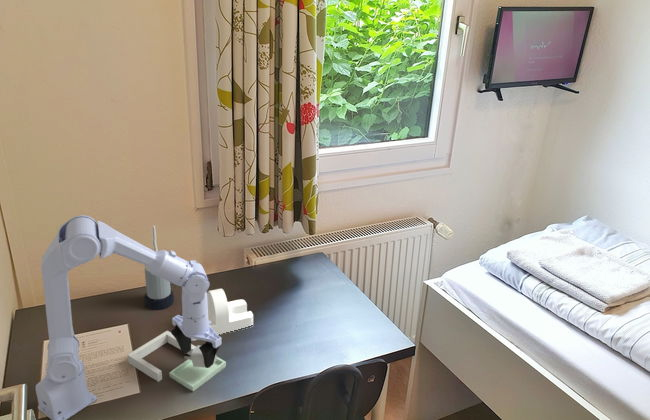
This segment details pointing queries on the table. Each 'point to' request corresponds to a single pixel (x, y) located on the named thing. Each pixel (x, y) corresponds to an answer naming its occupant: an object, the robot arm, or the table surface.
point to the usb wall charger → (198, 358)
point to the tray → (195, 373)
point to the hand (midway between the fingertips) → (197, 358)
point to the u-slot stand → (226, 313)
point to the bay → (147, 348)
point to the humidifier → (157, 287)
